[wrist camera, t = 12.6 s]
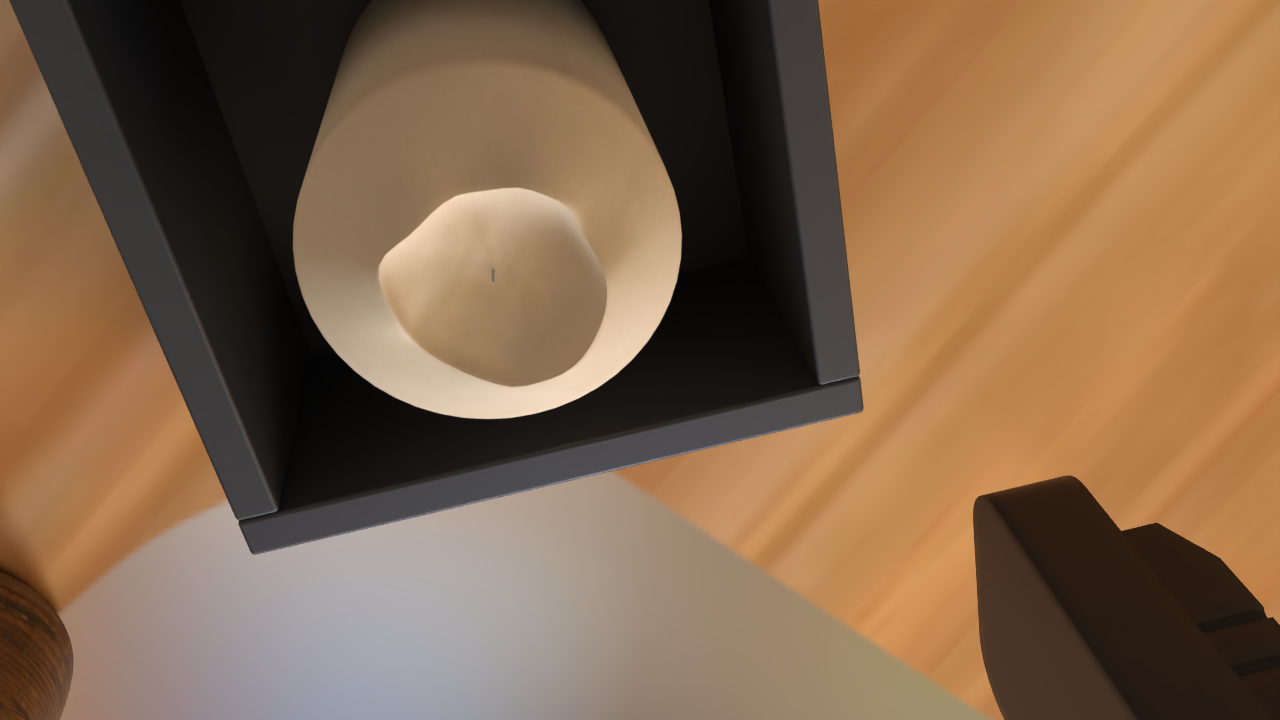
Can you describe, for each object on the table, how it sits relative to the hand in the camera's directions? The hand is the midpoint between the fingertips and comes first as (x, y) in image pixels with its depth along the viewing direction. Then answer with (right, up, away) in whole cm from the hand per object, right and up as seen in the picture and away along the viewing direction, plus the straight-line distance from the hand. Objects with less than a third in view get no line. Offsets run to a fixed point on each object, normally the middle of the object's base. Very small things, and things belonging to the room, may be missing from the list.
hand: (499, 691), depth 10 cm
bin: (-2, +8, +16) cm, 18 cm away
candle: (-2, +8, +15) cm, 18 cm away
